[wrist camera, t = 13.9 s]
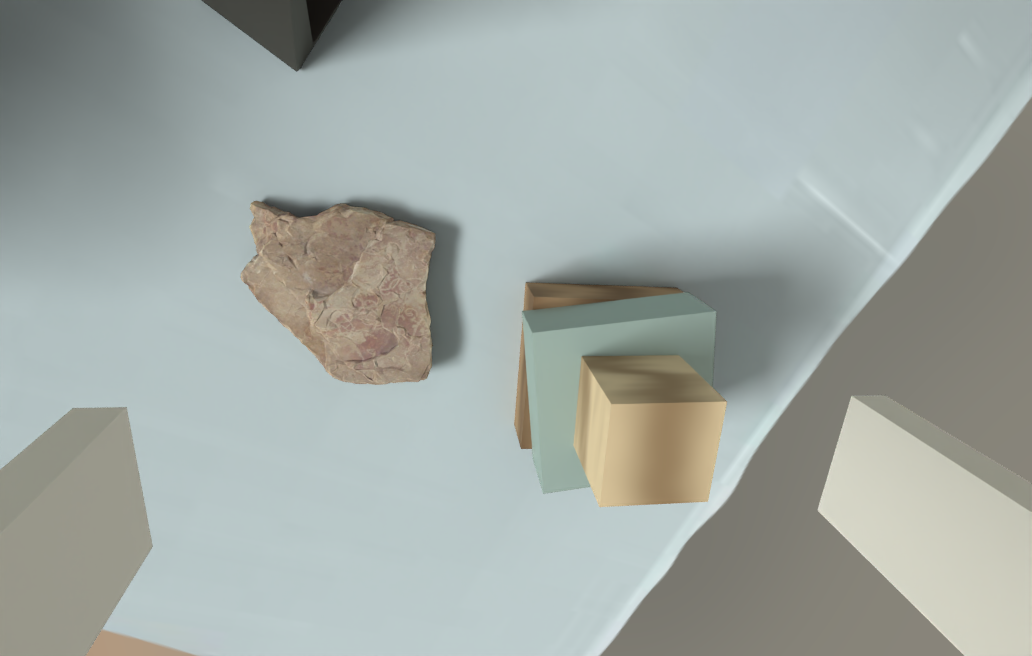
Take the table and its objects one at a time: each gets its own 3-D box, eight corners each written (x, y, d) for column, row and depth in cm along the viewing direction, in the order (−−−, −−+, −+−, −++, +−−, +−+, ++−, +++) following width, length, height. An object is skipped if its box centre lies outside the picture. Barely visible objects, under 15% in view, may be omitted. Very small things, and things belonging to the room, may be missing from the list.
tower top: (532, 459, 40) (543, 493, 36) (521, 311, 36) (532, 332, 32) (683, 437, 41) (708, 469, 37) (688, 292, 37) (716, 311, 33)
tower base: (513, 420, 43) (521, 448, 39) (524, 280, 40) (534, 297, 36) (651, 420, 45) (670, 447, 41) (673, 285, 41) (697, 301, 37)
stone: (260, 371, 39) (247, 388, 36) (245, 195, 35) (230, 201, 33) (432, 373, 41) (431, 390, 38) (436, 206, 37) (436, 212, 34)
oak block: (573, 445, 35) (599, 507, 30) (581, 356, 33) (611, 404, 28) (665, 442, 36) (707, 501, 30) (679, 355, 34) (727, 401, 28)
